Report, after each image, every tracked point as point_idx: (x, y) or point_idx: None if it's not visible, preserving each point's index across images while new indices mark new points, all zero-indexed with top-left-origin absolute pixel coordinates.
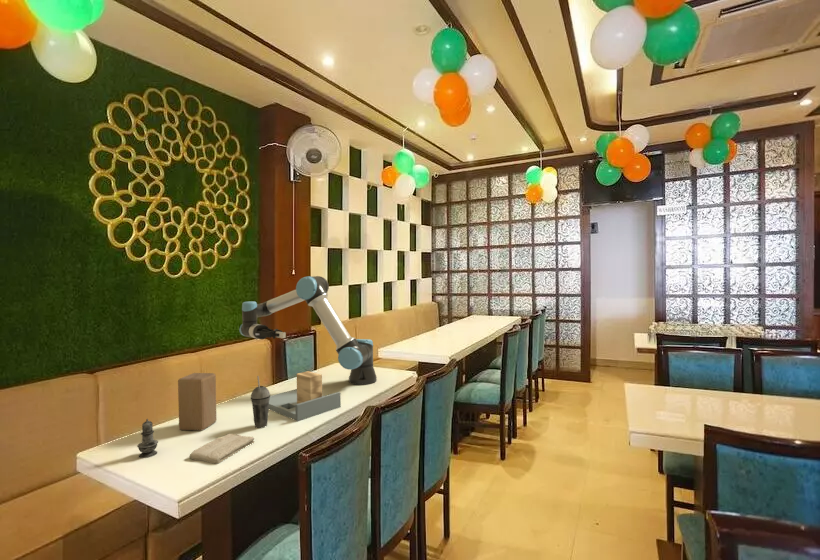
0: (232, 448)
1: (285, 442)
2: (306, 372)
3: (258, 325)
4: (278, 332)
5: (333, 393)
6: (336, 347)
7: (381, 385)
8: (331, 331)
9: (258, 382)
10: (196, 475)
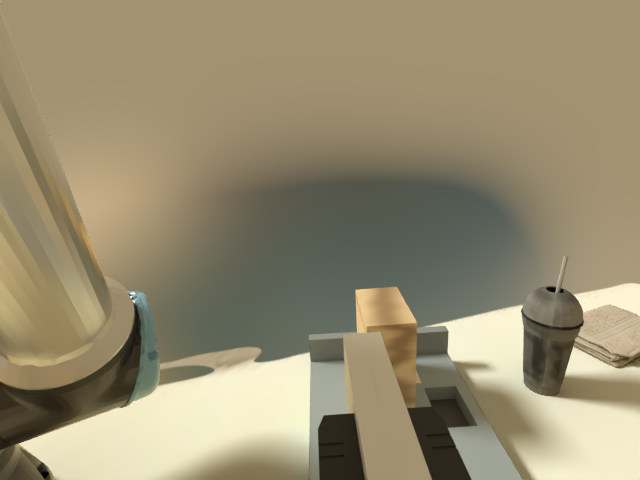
0: (590, 311)
1: (489, 312)
2: (380, 318)
3: None
4: (406, 411)
5: (326, 338)
6: (107, 343)
7: (59, 431)
8: (92, 259)
9: (562, 273)
10: (634, 303)
